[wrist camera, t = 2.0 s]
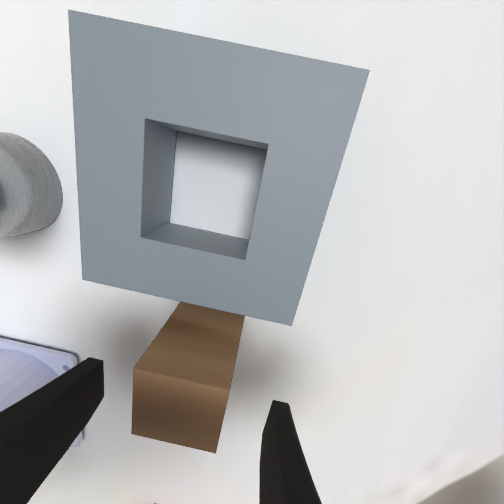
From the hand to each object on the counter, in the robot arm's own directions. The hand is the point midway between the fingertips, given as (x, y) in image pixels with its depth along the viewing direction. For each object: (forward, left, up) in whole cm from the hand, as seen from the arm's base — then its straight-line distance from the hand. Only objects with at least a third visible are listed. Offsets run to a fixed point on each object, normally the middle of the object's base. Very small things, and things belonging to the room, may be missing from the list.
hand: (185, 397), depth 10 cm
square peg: (0, 0, -5) cm, 5 cm away
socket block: (+8, +1, -5) cm, 10 cm away
